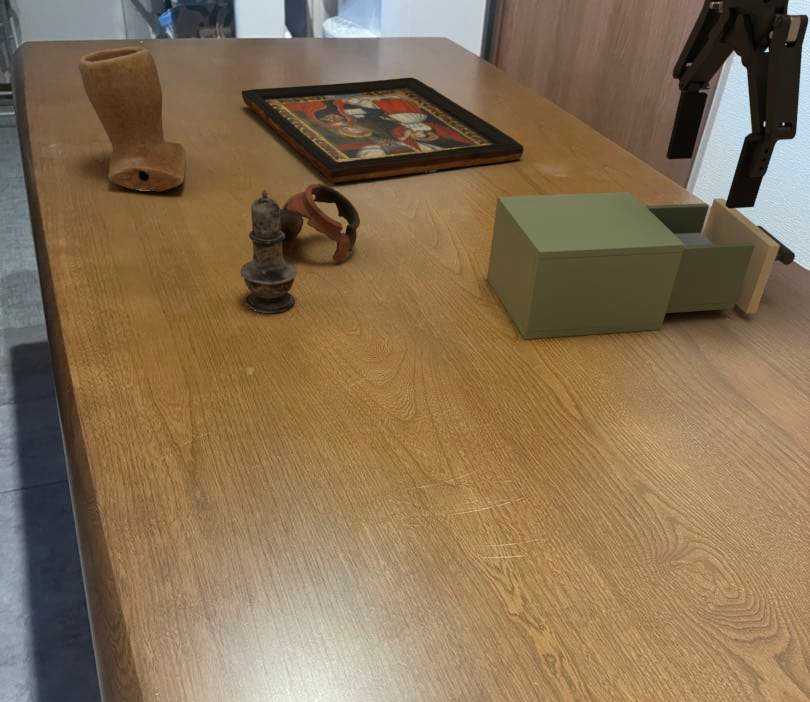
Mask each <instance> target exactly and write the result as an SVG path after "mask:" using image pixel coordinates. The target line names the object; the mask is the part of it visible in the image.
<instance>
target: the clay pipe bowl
mask: <svg viewBox="0 0 810 702" xmlns="http://www.w3.org/2000/svg"><path fill="white" fill-rule="evenodd" d="M78 70H79V74H80V77H81V80H82V84H83V89H84V92H85V94H86V97H87V99H88V100H89V102H90V104H91V106H92V108H93V110H94V111H95V114H96V116H97V117H98V119H99V121H100V123H101V125H102V127H103V129H104V131H105V133H106V135H107V137H108V139H109V142H110V143H111V148H112V152H111V154H110V157H109V168H108V170H109V171H108V179H109V181H111V182H113V183H115V184H117V185H119V186H122V187H124V188H126V189H130V190H133V189H142V190H150V191H156V192H163V191H168V190H170V189H173V188H177V187H178V186H180V185H182V183H183V182H184V180H185V176H186V175H185V174H186V166H187V165H186V164H187V162H186V161H187V157H186V150H185V147H184V146H183V145H182V144H181V143H177V142H173V141H172V142H171V141H166V140H165V137H164V129H163V91H162V86H161V82H160V77H159V73H158V69H157V65H156V62H155V59H154V57H153V55H152V54H151V52H150V51H149V50H148V49H146V48H144V47H141V46H125V47H124V46H123V47H120V48H107V49H102V50H97V51H94V52H90V53H87V54H85V55H83V56H81V57H80V60H79V61H78Z"/></svg>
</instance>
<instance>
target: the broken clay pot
mask: <svg viewBox="0 0 810 702" xmlns="http://www.w3.org/2000/svg"><path fill="white" fill-rule="evenodd" d="M313 195H314V198H313ZM317 203H325V204H335V206H336V209H337V213H338V215H337V216H338V217H340V218H343V219H344V220H346V222H347V225H346V227H345V231H344V232H342V231H343V229H344V228H343V224H342V223H341V222H339V221H337V220H335V219H333V218H331V217H330V216H329V215H327V213H325V212H324V211H323V210H322V209H321V208H319V206H318V205H317ZM304 218H305V219H307V222H306V225H307V226H309V227H311V228H313V229H314V230H315V231H316V232H318V233H320V234H324V235H325V236H326V237H327V238H328V239H330V240H332V241H334V242H336V249H335V251H334V253H333V255H332V260H333V261H334V262H336V263H342V262H343V261H344V259H345V258H346V257H347V256H348V253H349V252H351V251H352V250H353V249H354V247H355V244H356V241H357V238H358V237H357V235H358V234H357V229H358V228H359V227H360V225H361V220H360V214H359V212H358V211H357V209H356V207H355V206H354V205H353V204H352V202H351V201H350V200H349V199H348V198H347V197H346V196H345V195H344V194H342V193H341V192H339V191H338V190H336V189H335V188H333V187H330V186H328V185H325V184H322V183H312V184H310V185H308V186H307V187H306V188H305V190H304V191H302V192H298V193H295V194H294V195H292V196H290V197H289V198H288V199H287V201H285V203H284V205H282V207H281V208H280V225H281V231H282V232H283V233H284V235H285V238H284V239H283V240H282V254H283V255H287V256H288V255H289V256H290V255H291V254H292V251H293V250H292V249H293V246H294V244H295V241H296V239H297V237H298V235H299V234H300V233H301V232H302V229H303V226H304Z"/></svg>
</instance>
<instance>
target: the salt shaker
mask: <svg viewBox="0 0 810 702" xmlns="http://www.w3.org/2000/svg"><path fill="white" fill-rule="evenodd" d="M250 208H251V209H250V210H251V211H250V212H251V227H252V231H250V232H249V234H248V237H249V239H250V241H251V242H252V259H251V260H249V261H247V262H245V263H244V264H243V265H242V266H241V268H240V271H239V272H240V275H241V277H242V278H243V281H244V284H245V285H246V287H247V289H248V290H249V292H251V293H249V294H248V295H247V296H246V297H245V305H246V307H248V306H249V307H250V308H251V309H253V310H256V311H258V312H257V313H259V312H262V313H261V314H264V313H276V314H280V313H279V312H281V313H283V312H282V311H285V312H287V311H290V310H291V309H292V308H294V306H295V305H294V304H296V299H295V297H294V296H293V295H292V294H291V293H289V292H290V291H291V289H292V287H293V285H294V282H295V277H296V276H297V275H298V269H297V268H296V266H295V264H293V263H292V262H290V261H288V260H285V258H284V254H283V253H282V240H283V239H284V238H285V235H284V233H283V232H282V231H281V225H280V209H281V208H280V204H279V203H278V202H277V201H276V200H274V199H272V198H270V197H269V193H268V192H267V191H266V189H263V191H262V192H261V197H260V198H257V199H256V200H254V201H253V202H252V204H251V207H250ZM249 307H248V308H249ZM250 308H249V309H250ZM290 308H291V309H290ZM251 309H250V310H251ZM253 310H252V311H253ZM256 311H255V312H256Z"/></svg>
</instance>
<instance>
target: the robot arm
mask: <svg viewBox="0 0 810 702" xmlns="http://www.w3.org/2000/svg"><path fill="white" fill-rule="evenodd" d="M789 2H790V0H704V1H703V5H702V8H701V11H700V13H699V15H698V17H697V19H696V21H695V23H694V25H693V27H692V29H691V31H690V33H689V35H688V38H687V39H686V41H685V43H684V46H683V48H682V50H681V52H680V54H679V56H678V58H677V61H676V62H675V64H674V67H673V69H672V79H674V80H678V81H679V82H678V89H679V91H680V94H679V98H678V104H677V107H676V111H675V116H674V121H673V126H672V130H671V134H670V138H669V143H668V147H667V150H666V151H667V152H666V155H665V157H666V158H667V159H668V160H686V159H693V155H694V151H695V147H696V143H697V138H698V134H699V131H700V127H701V123H702V120H703V115H704V111H705V107H706V103H707V100H708V95H709V94H708V93H707V92H704V91H709V90H710V89H711V87H710V82H711V80H712V79H713V78H714V77H715V75H716V74H717V72H718V71H719V70H720V69H721V67H722V66H723V65H724V64H725V63H726V61H727V60H728V59H729V57H730V56H731V55H732V53H733V52H734V53H735V54H736V55H737V56H738V57H740V62H741V63H740V64H741V65H742V67H744V68H745V69H746V79H747V88H748V100H749V114H750V127H751V132H750V133H749V134H747V135H746V136H744V139H743V143H742V147H741V149H740V154H739V157H738V160H737V163H736V167H735V170H734V174H733V176H732V177H733V178H732V181H731V183H730V188H729V191H728V195H727V197H726V205H725V206H726V207H728V208H729V209H731V208H735V209H747V208H754V206H755V205H756V201H757V198H758V195H759V192H760V188H761V184H762V181H763V178H764V177H765V175H766V173H768V169H769V166H770V161H771V159H772V157H773V156H772V155H773V153H774V149H775V146H776V144H777V143H778V141H784V140H785V141H786V140H794V138H795V137H796V135H797V131H798V130H797V128H798V114H799V101H800V87H801V84H800V83H801V72H802V71H801V69H802V58H803V57H802V56H803V55H802V54H803V44H804V41H805V37H806V34H807V29H808V24H809V16H808V15H807V14H788V9H789V8H788V7H789ZM767 49H768V51H767ZM688 64H690V65H688Z"/></svg>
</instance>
